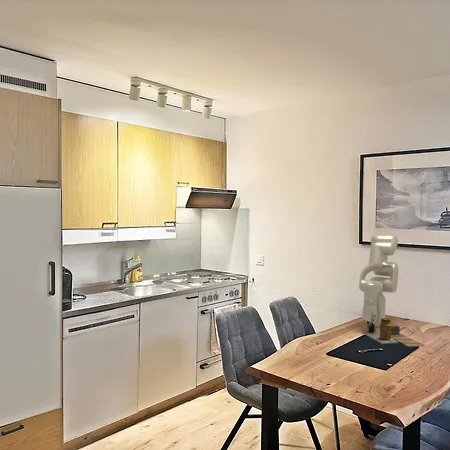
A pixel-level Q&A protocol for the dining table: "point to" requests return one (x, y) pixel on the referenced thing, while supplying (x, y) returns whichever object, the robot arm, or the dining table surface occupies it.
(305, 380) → the dining table surface
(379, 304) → the robot arm
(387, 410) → the dining table surface
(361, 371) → the dining table surface
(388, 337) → the condiment
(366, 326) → the strip
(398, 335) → the strip empty
